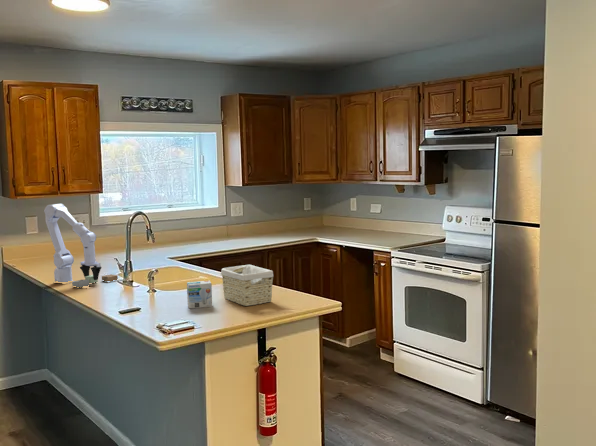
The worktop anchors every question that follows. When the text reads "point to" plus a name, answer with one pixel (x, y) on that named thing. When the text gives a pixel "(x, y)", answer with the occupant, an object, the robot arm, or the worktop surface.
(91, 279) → the sage cube
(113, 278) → the walnut block
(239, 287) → the storage basket
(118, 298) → the worktop surface
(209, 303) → the light bulb box
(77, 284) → the slate block
